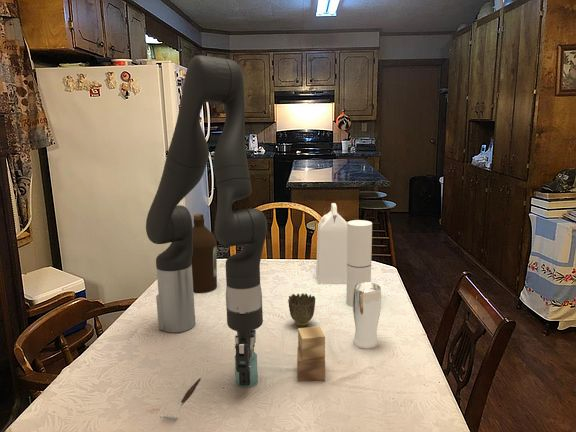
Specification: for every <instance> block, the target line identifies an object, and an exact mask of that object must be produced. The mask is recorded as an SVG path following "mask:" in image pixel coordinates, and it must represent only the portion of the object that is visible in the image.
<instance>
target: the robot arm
mask: <svg viewBox="0 0 576 432" xmlns="http://www.w3.org/2000/svg"><path fill="white" fill-rule="evenodd" d="M244 85H245V84H244V77H243V73H242V69H241V66H240V65H239V64H238V63H237V62H236V61H235V60H232V59H227V58H222V57H221V58H220V57H215V56H208V55H195V56H194V57H192V58H191V60H190V62H189V63H188V65H187V69H186V72H185V75H184V81H183V86H182V93H181V97H180V104H179V110H178V114H177V118H176V123H175V127H174V130H173V134H172V138H171V142H170V144H169V147H168V150H167V154H166V158H165V161H164V167H163V170H162V174H161V178H160V180H159V184H158V187H157V190H156V193H155V196H154V198H153V200H152V203H151V205H150V207H149V210H148V213H147V215H146V220H145V231H146V235H147V237H148V239H149V241H150V242H151V243H153V244H155V245H164V244H169V246H168V247H167V248H166V249H165V250H163V251H162V252H161V253H159V254H158V255H157V256H156V258H155V267H156V268H155V269H156V279H157V291H158V294H157V295H156V298H155V302H156V311H157V325H158V330H159V331H164V332H166V333H173V334H175V333H183V332H186V331H189V330H191V329H192V328H194V327H195V325H196V310H195V292H193V277H192V256H193V227H194V224H193V219H192V216H191V212H190V211H189V210H188V207H186V206H184V205H181V204H180V203H181V201H182V200H183V199H184V198H185V197H186V196H188V194H190V192H191V191H192V190H194V188H195V187H196V186H197V185H198V184H199V183H200V181H201V179H202V178H203V176H204V172H205V170H206V167H207V164H208V161H209V158H210V150H209V144H208V142H207V139H206V136H205V133H204V131H203V129H202V125H201V121H200V119H201V112H202V109H203V105H204V104H205V103H207V104H208V103H209V104H221V105H223V108H224V114H225V115H224V116H225V118H224V119H225V120H224V126H223V128H222V132H221V133H220V136H219V139H218V141H217V144H216V146H215V149H214V153H213V158H212V159H213V160H212V161H213V162H212V163H213V171H214V178H215V185H216V191H217V192H216V194H217V197H216V198H217V199H216V200H217V202H216V214H215V220H214V236H215V238H216V241H217V243H219V244H220V245H221V246H223V247H226V248H229V247H235V246H242V245H243V246H244V245H245V246H244V248H242V250H241V251H239V252H236V253H234V254H232V255H230V256H229V257H227V259H226V261H225V281H226V287H225V306H226V324H227V326H228V328H229V329H230V330H232V331H235V332H236V335H235V339H234V343H235V346H234V348H235V355H236V371H237V372H239V384H240V385H241V386H249V385H250V368H251V365H250V359H251V358H252V357H253V352H255V347H256V337H257V336H256V335H257V331H256V330H257V329H259V328H261V326H263V321H264V319H263V318H264V317H263V316H264V313H263V292H262V287H261V259H262V254H263V249H264V246H265V243H266V238H267V233H268V220H267V217H266V215H265V214H264V212H263V211H262V210H260V209H258V208H247V209H246V208H245V209H237V210H233V209H232V207H233V203H235V202H237V201H239V200H240V201H241V200H243V199H246V198H247V197H249V196H251V195H252V192H253V190H252V181H251V176H250V175H251V173H250V169H249V163H248V159H247V150H246V137H245V136H246V135H245V134H246V132H245V131H246V129H245V128H246V127H245V126H246V125H245V121H246V120H245V117H246V116H245V114H246V113H245V110H246V109H245V87H244ZM179 204H180V205H179ZM248 351H250V353H248ZM241 361H245V362H246V364H241Z"/></svg>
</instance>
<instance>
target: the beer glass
mask: <svg viewBox="0 0 576 432" xmlns="http://www.w3.org/2000/svg"><path fill="white" fill-rule="evenodd" d="M381 289H382V287H381V286H380V285H379V284H377V283H375V282H371V283H370V282H362V283H357V284H355V285H354V290H353V301H352V304H353V307H352V314H353V319H354V327H355V330H354V331H355V332H354V338H353V344H354V346H355V347H357V348H359V349H364V350H372V349H374V348H376V347H377V346H378V345H379V339H378V325H379V324H378V323H379V320H380V316H381V309H382V293H381V292H382V291H381Z"/></svg>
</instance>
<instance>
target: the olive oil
mask: <svg viewBox="0 0 576 432" xmlns="http://www.w3.org/2000/svg"><path fill="white" fill-rule="evenodd" d="M204 215H205V214H203V213H195V214H193V219H192V221H193V256H192V277H193V292H194V294H195V293H196V294H198V293H199V294H204V293H209V292H212V291H214V290H216V289H217V288H218V274H217V273H218V272H217V271H218V268H217V267H218V263H217V261H218V257H217V256H218V255H217V253H218V251H217V250H218V245H217V244H218V241H217V238H216V236H215V234H214V233H213V232H212V231H210V229H209V228H207V227H206V225H205V218H204Z"/></svg>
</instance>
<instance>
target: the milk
mask: <svg viewBox="0 0 576 432" xmlns="http://www.w3.org/2000/svg"><path fill="white" fill-rule="evenodd" d="M347 222H348V221H346V219H345V218H343V217H342V215H341V214H339V212H338V206H337V204H336V202H332V203H331V204H330V211H329V212H327V213H325V214H324V215H323V216H322V217H321V218H320V220H319V222H318V223H317V237H316V241H317V242H316V243H317V244H316V272H315V273H316V280H317V285H347Z"/></svg>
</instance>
